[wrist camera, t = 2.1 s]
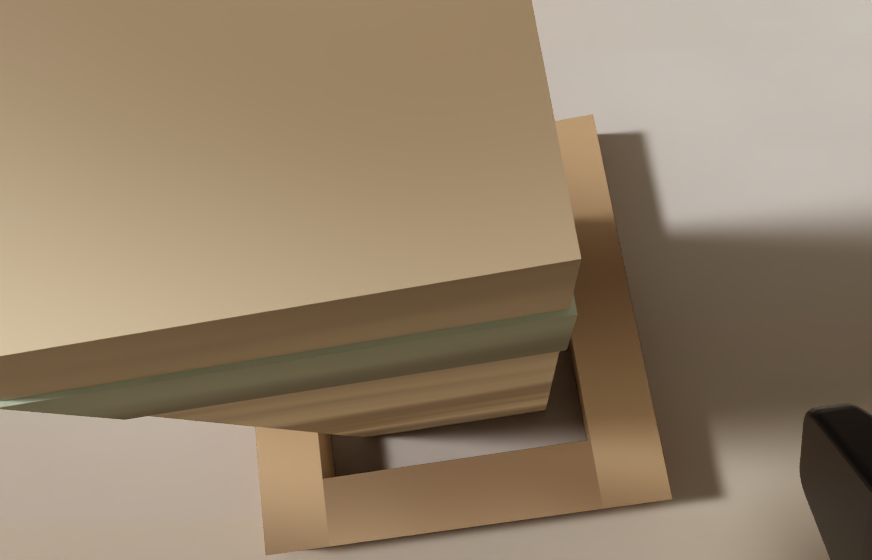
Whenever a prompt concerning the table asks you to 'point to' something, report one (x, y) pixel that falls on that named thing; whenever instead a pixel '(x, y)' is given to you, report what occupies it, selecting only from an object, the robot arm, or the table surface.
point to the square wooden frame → (509, 471)
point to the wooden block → (281, 212)
